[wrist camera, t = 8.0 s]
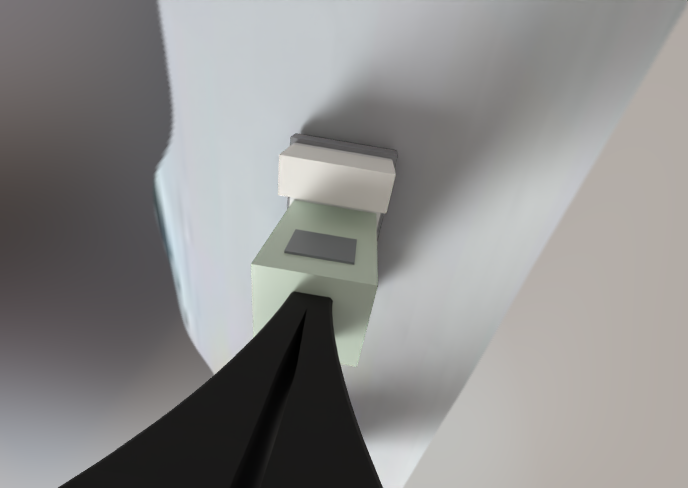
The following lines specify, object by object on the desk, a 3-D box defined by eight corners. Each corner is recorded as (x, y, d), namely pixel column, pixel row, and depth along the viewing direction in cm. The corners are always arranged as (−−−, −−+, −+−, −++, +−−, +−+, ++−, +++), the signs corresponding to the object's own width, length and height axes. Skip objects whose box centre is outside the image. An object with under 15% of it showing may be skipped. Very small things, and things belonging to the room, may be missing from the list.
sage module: (362, 279, 16) (356, 366, 11) (290, 267, 16) (253, 349, 11) (376, 211, 13) (378, 282, 9) (294, 197, 14) (250, 261, 9)
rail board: (361, 297, 18) (359, 339, 15) (287, 284, 18) (270, 324, 15) (395, 150, 13) (402, 170, 10) (295, 133, 13) (273, 148, 10)
